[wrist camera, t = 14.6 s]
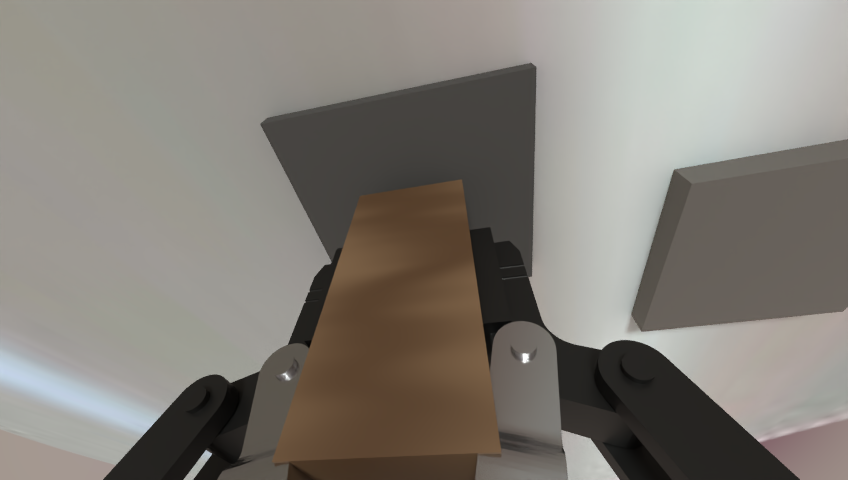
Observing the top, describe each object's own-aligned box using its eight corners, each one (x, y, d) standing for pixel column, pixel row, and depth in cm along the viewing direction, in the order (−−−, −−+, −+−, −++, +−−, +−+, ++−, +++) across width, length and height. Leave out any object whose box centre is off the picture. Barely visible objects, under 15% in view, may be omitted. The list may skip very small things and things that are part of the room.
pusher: (462, 179, 11) (501, 452, 5) (472, 256, 13) (508, 510, 7) (359, 195, 11) (271, 462, 5) (387, 267, 13) (348, 513, 7)
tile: (1013, 131, 10) (843, 311, 15) (949, 114, 11) (812, 286, 17) (691, 183, 11) (641, 331, 17) (666, 163, 13) (627, 307, 18)
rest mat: (531, 63, 10) (536, 67, 9) (528, 267, 16) (531, 276, 15) (267, 118, 11) (260, 124, 11) (352, 289, 17) (350, 297, 16)
